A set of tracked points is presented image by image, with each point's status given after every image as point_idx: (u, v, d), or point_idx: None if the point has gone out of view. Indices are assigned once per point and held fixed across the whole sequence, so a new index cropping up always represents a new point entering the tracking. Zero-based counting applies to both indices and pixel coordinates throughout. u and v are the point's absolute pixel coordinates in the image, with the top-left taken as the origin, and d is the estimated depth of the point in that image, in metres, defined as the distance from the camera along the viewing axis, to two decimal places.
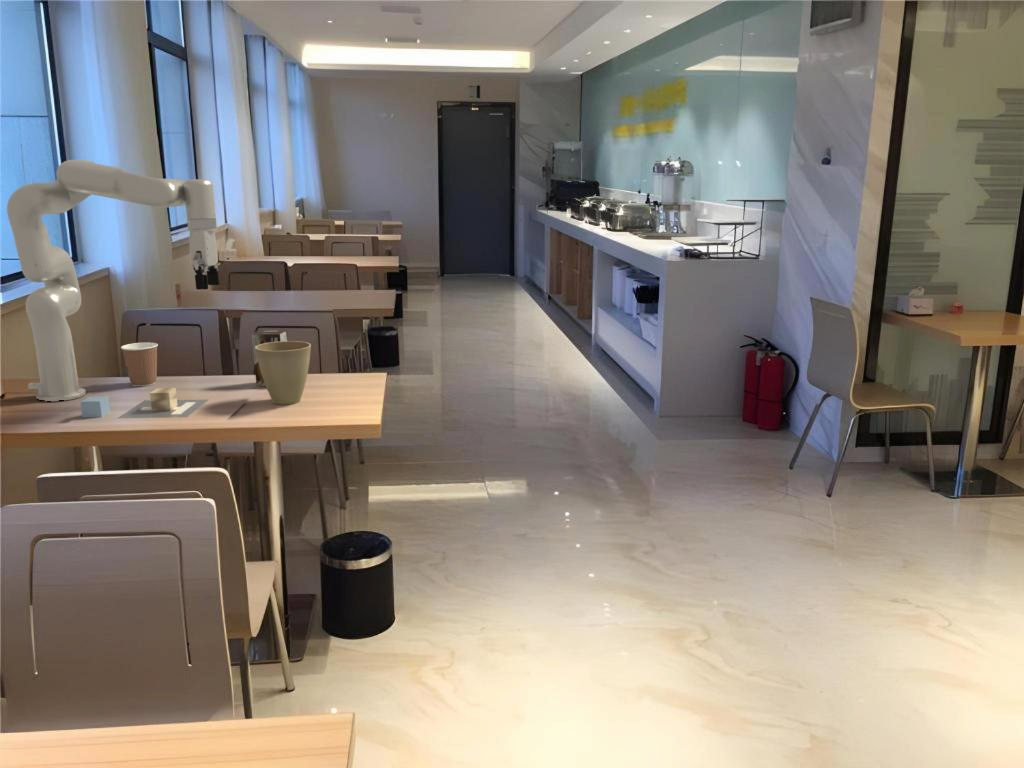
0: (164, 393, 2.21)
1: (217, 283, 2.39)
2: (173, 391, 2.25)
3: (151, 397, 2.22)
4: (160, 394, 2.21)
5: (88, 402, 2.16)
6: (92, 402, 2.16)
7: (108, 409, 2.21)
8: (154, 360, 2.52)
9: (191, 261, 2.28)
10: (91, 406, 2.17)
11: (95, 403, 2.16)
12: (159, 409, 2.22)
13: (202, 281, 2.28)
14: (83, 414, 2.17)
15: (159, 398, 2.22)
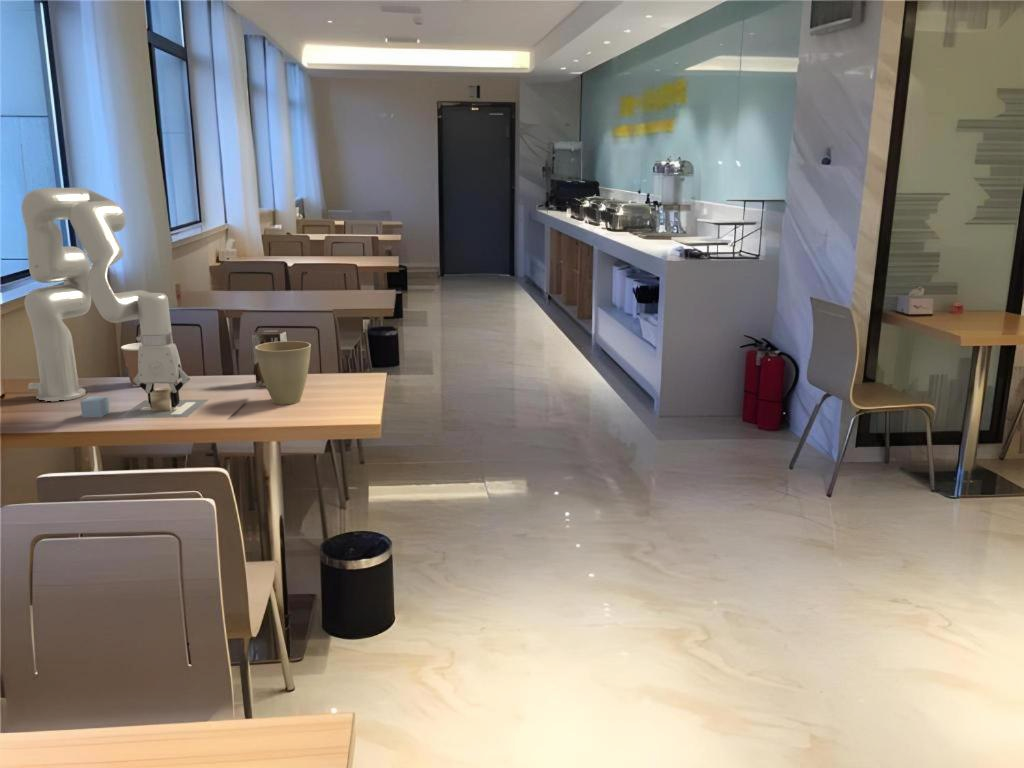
0: (164, 393, 2.21)
1: None
2: None
3: (151, 397, 2.22)
4: (160, 394, 2.21)
5: (88, 402, 2.16)
6: (92, 402, 2.16)
7: (108, 409, 2.21)
8: None
9: (176, 376, 2.21)
10: (91, 406, 2.17)
11: (95, 403, 2.16)
12: (159, 409, 2.22)
13: (178, 397, 2.25)
14: (83, 414, 2.17)
15: (159, 398, 2.22)
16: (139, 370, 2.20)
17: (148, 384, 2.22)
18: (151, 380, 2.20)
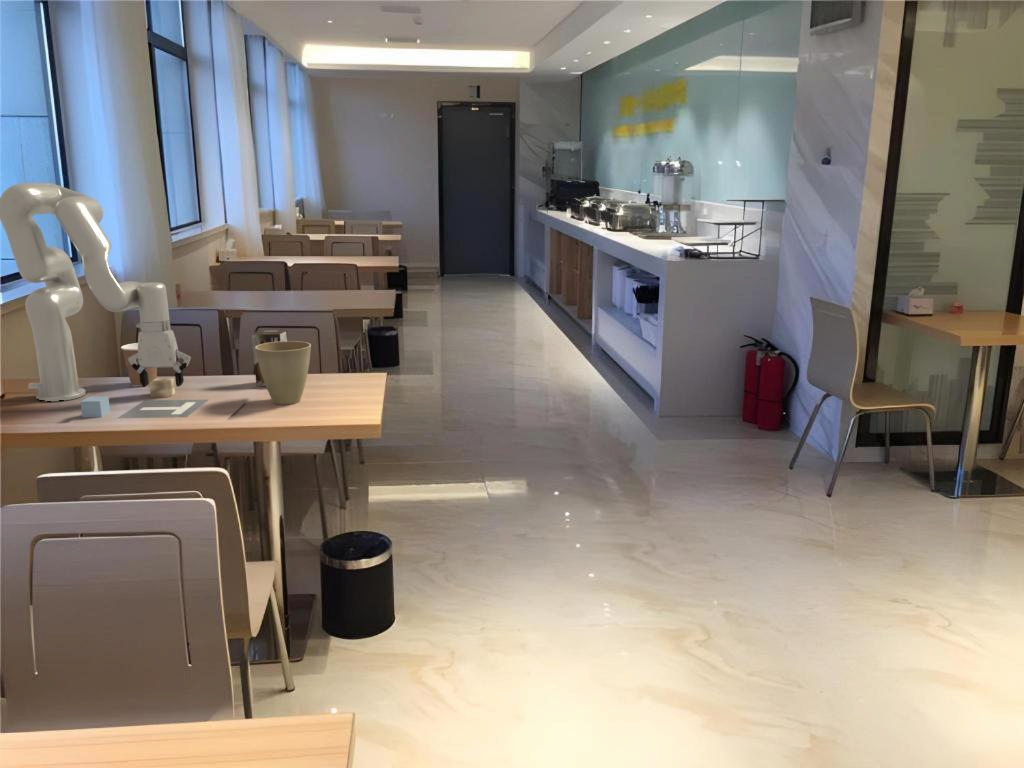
0: (162, 383, 2.36)
1: (148, 383, 2.40)
2: (171, 381, 2.39)
3: (150, 386, 2.36)
4: (159, 384, 2.36)
5: (88, 402, 2.16)
6: (92, 402, 2.16)
7: (108, 409, 2.21)
8: None
9: (174, 360, 2.35)
10: (91, 406, 2.17)
11: (95, 403, 2.16)
12: None
13: (182, 377, 2.39)
14: (83, 414, 2.17)
15: (158, 387, 2.36)
16: (139, 355, 2.34)
17: None
18: (150, 365, 2.34)
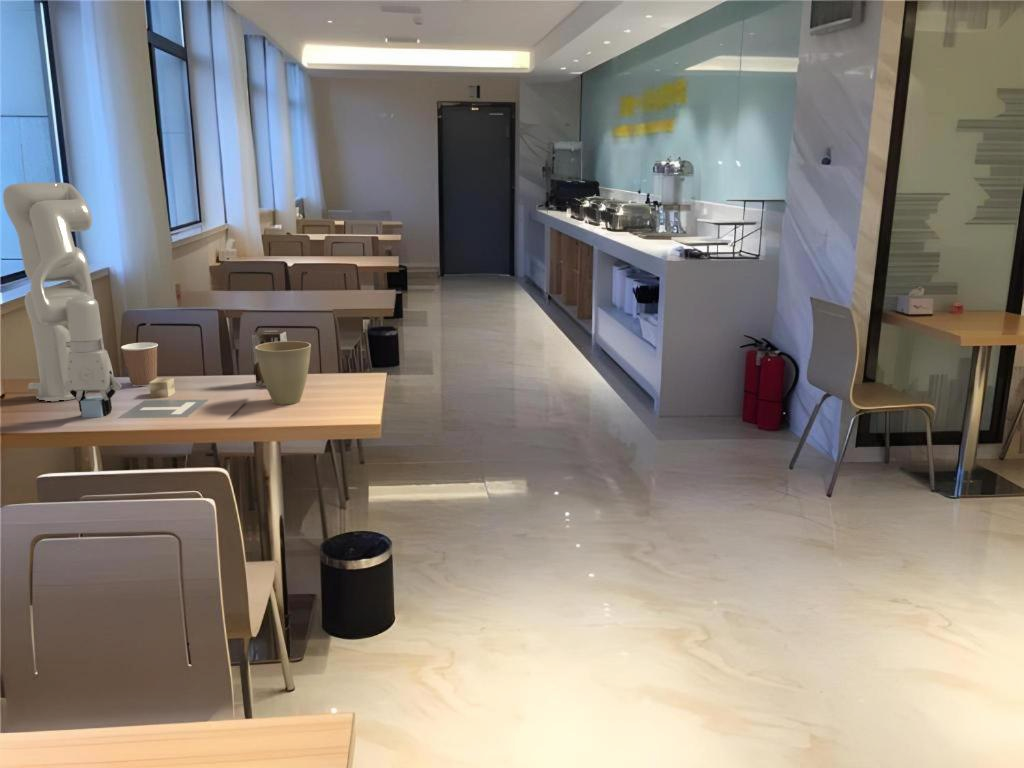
0: (162, 383, 2.36)
1: None
2: (171, 381, 2.39)
3: (150, 386, 2.36)
4: (159, 384, 2.36)
5: (88, 402, 2.16)
6: (92, 402, 2.16)
7: None
8: (154, 360, 2.52)
9: (107, 383, 2.16)
10: (91, 406, 2.17)
11: (95, 403, 2.16)
12: None
13: (110, 404, 2.20)
14: (83, 414, 2.17)
15: (158, 387, 2.36)
16: (69, 377, 2.15)
17: (79, 391, 2.17)
18: (81, 388, 2.15)
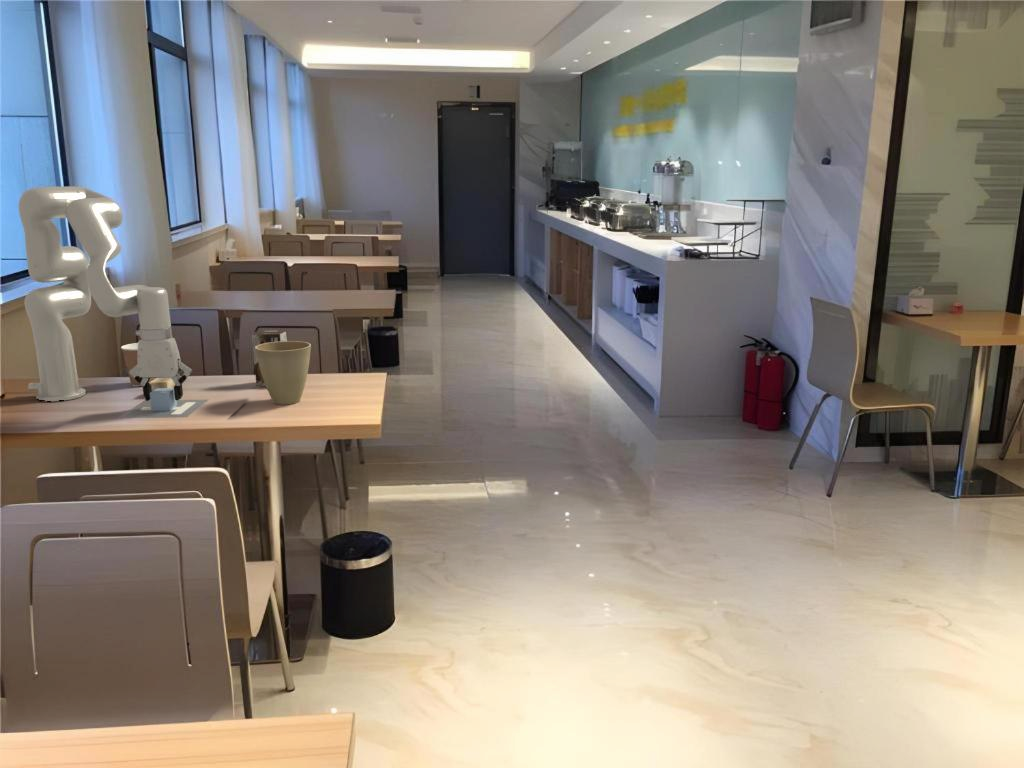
0: (162, 383, 2.36)
1: None
2: (171, 381, 2.39)
3: None
4: (159, 384, 2.36)
5: (157, 393, 2.21)
6: (161, 393, 2.21)
7: (175, 400, 2.26)
8: None
9: (176, 371, 2.20)
10: (160, 397, 2.22)
11: (164, 394, 2.21)
12: None
13: (182, 390, 2.24)
14: (152, 405, 2.22)
15: (158, 387, 2.36)
16: (138, 365, 2.19)
17: (145, 377, 2.21)
18: (150, 375, 2.20)
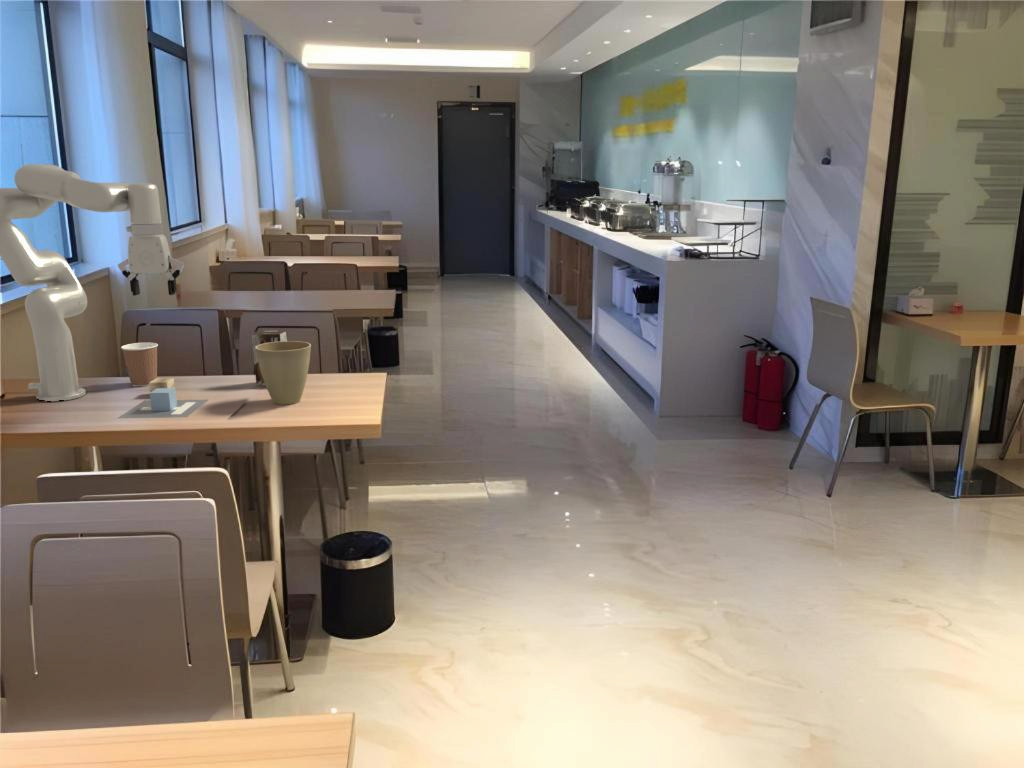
0: (162, 383, 2.36)
1: (139, 292, 2.27)
2: (171, 381, 2.39)
3: (150, 386, 2.36)
4: (159, 384, 2.36)
5: (157, 393, 2.21)
6: (161, 393, 2.21)
7: (175, 400, 2.26)
8: (154, 360, 2.52)
9: (166, 267, 2.23)
10: (160, 397, 2.22)
11: (164, 394, 2.21)
12: None
13: (175, 285, 2.27)
14: (152, 405, 2.22)
15: (158, 387, 2.36)
16: (129, 260, 2.22)
17: None
18: (141, 271, 2.22)
